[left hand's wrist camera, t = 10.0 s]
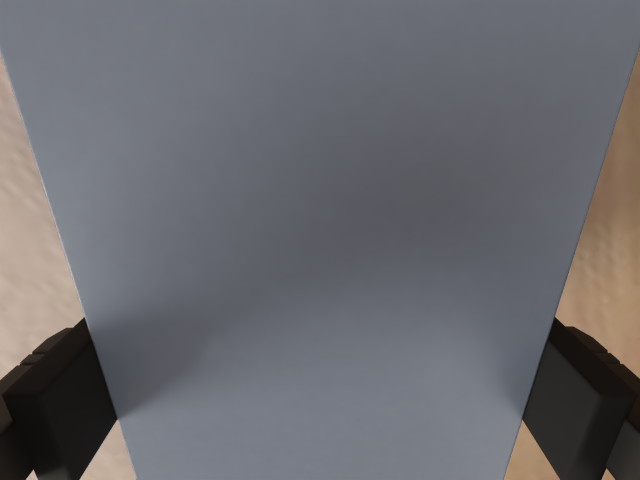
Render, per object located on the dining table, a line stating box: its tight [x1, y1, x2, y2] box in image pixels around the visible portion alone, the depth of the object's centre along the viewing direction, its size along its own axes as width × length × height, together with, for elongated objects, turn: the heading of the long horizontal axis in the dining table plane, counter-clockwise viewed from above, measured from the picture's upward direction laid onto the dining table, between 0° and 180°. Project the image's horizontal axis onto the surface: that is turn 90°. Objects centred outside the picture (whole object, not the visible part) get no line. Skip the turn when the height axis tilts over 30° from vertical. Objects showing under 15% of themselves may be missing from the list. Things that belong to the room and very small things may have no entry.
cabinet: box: [0, 0, 640, 480], centre depth 11 cm, size 19×11×8 cm, turn 0°
